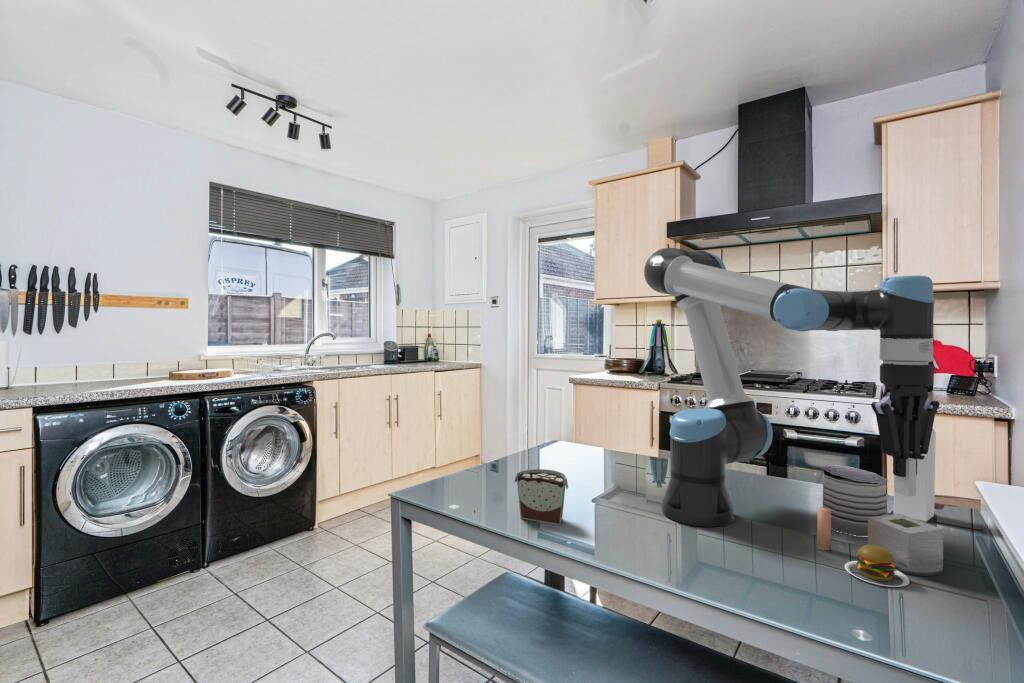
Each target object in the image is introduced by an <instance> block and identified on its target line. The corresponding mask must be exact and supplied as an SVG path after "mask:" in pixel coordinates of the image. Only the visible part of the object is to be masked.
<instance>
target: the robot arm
mask: <svg viewBox="0 0 1024 683" xmlns="http://www.w3.org/2000/svg"><path fill="white" fill-rule="evenodd" d="M643 274H644V275H643V276H644V279H645V282H646V283H647V285H648V286H649V288H651V289H652V290H653V291H655V292H656V293H660V294H666V295H670V296H673V297H674V300H675V304H676V307H677V308H678V309H680V310H681V311H683V312H684V314H685V318H686V322H687V325H688V330H689V333H690V337H691V342H692V346H693V349H694V353H695V356H696V361H697V364H698V367H699V372H700V377H701V380H702V384H703V388H704V391H705V395H706V398H707V403H706V404H705V406H704V407H702V408H700V407H699V408H687V409H683V410H680V411H677V412H675V414H673V415H672V417H671V420H670V429H669V436H670V437H669V447H670V448H669V450H670V451H669V454H670V455H669V458H670V459H669V461H670V462H669V465H670V467H669V468H670V471H669V472H670V473H669V474H670V476H669V477H670V478H669V481H668V484H667V487H666V490H665V492H664V495H663V498H662V502H661V504H662V505H661V507H662V509H661V510H662V511H661V512H662V514H663V515H664V516H665V517H667V518H668V519H670V520H673V521H675V522H678V523H681V524H685V525H689V526H695V527H703V528H704V527H708V528H709V527H710V528H711V527H713V528H714V527H723V526H726V525H729V524H732V522H733V521H734V507H733V504H732V501H731V498H730V495H729V492H728V488H727V485H726V465H729V464H733V463H738V462H746V461H751V460H753V459H756V458H759V457H761V456H762V455H765V453H766V452H767V451H768V450H769V448H770V446H771V444H772V441H773V437H774V434H773V427H772V424H771V421H770V420H769V418H768V417H767V415H764V414H763V413H762V412H761V411H759V410H757V408H756V404H755V401H754V399H753V398H752V397H750V396H749V395H746V393H745V390H744V387H743V383H742V380H741V377H740V373H739V369H738V365H737V362H736V358H735V354H734V352H733V348H732V343H731V340H730V336H729V333H728V329H727V326H726V322H725V319H724V314H723V312H722V308H721V306H723V307H727V308H729V309H733V310H737V311H740V312H743V313H747V314H751V315H754V316H757V317H761V318H763V319H767V320H771V321H774V322H776V323H778V324H779V325H781V326H782V327H783V328H785V329H787V330H793V331H798V332H809V331H827V332H839V331H869V330H871V331H878V330H879V360H880V361H883V363H881V364H880V365H879V382H880V383H881V384H883V385H884V390H883V393H882V398H881V399H880V400H879V401H878V402H877V401H872V402H871V404H870V406H871V409H872V410H873V412H874V414H875V417H876V418H875V419H876V423H877V427H878V428H877V429H878V432H879V440H880V444H881V445H880V446H881V449H882V453H883V454H886V455H887V456H888V457H889V456H890V457H892V473H893V493H894V492H896V493H899V494H902V495H906V496H909V497H911V496H916V475H917V459H921V460H923V459H924V457H925V456H922V454H927V453H928V449H929V444H930V439H931V433H932V428H933V429H934V422H935V416H936V413H937V412H938V409H939V407H940V405H941V404H940V401H938V400H932V399H931V398H930V397H929V395H930V394H929V391H928V389H927V387H930V386H933V384H934V366H932V364H929V363H930V362H933V361H934V318H935V317H934V314H935V313H934V312H935V311H934V310H935V303H936V302H935V298H934V284H933V283H934V282H933V280H932V278H930V277H929V276H926V275H901V276H900V275H899V276H892V277H884V278H883V279H881V280H880V285H879V288H878V289H873V290H872V289H871V290H858V291H857V290H855V291H839V290H837V291H836V290H823V289H814V288H809V287H804V286H799V285H796V284H790V283H785V282H783V281H782V282H781V281H777V280H773V279H768V278H766V277H765V278H764V277H759V276H754V275H751V274H748V273H747V274H746V273H742V272H738V271H733V270H730V269H729V270H728V269H727V268H726V266H725V263H724V262H723V260H722V259H721V258H720V257H719V256H718V255H716V254H714V253H713V252H708V251H706V250H701V249H700V250H699V249H698V250H697V249H695V250H693V249H685V248H684V249H683V248H679V247H678V248H676V247H665V248H660V249H658V250H657V251H654V252H652V254H651V255H649V257H648V259H647V260H646V261H645V265H644V268H643ZM920 446H921V447H920Z"/></svg>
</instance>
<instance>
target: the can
mask: <svg viewBox="0 0 1024 683" xmlns="http://www.w3.org/2000/svg"><path fill="white" fill-rule="evenodd" d="M820 468H821V469H822V508H827V509H830V510H831V530H832V529H833V530H832V531H834V530H835V531H834V532H836V531H838V532H837V533H839V532H842V533H841V534H843V533H847V534H851V535H856V536H868V517H875V516H884V515H887V482H888V481H889V479H887V478H885V477H883V476H881V475H880V474H877V473H875V472H873V471H868V470H864V469H861V468H856V467H852V466H848V465H847V466H846V465H845V466H844V465H835V464H826V465H824V466H821V467H820ZM847 534H846V535H847ZM851 535H850V536H851Z"/></svg>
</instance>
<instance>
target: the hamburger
mask: <svg viewBox="0 0 1024 683" xmlns="http://www.w3.org/2000/svg"><path fill="white" fill-rule="evenodd" d="M893 562H894V558H893V556H892V554H891V553H890V552H889V551H887V550H886V549H884V548H882V547H880V546H876V545H868V544H866V545H863V546H861V547H860V548H859V549H858V551H857V553H856V559H855V560H851V561H847V562H845V564H844V569H845V571H847V573H849V574H851V575H852V576H854V577H855V578H857V579H860V580H861V581H864V582H865V583H869V584H873V585H876V586H880V587H886V588H887V587H888V588H889V587H890V588H899V587H905V586H907V585H909V584H910V580H909V578H908V576H907V575H906V574H905V573H902V572H900V571H898V570H896V569H894V568H895V565H894V563H893ZM853 567H856V568H857V570H858V572H859V573H860V574H861V575H863V576H865V577H866V578H868V579H869V580H870V579H871V580H874V581H879V582H889V581H891V580H892V579H893V578H894V576H895V575H896V576H897V575H898V577H899V578H900V579H901V581H902V583H901V584H899V585H886V584H880V583H876V582H872V581H869V580H865V579H863V578H861V577H860V576H858V575H855V574H854V573H853V572H852V571H851V568H853Z"/></svg>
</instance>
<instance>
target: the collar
mask: <svg viewBox="0 0 1024 683" xmlns="http://www.w3.org/2000/svg"><path fill="white" fill-rule="evenodd" d="M903 526H904V527H903ZM906 527H908V528H906ZM867 545H876V546H880V547H882V548H884V549H886V550H887V551H889V552H890V553H891V554H892V556H893V558H894V562H896V563H898V564H901V565H903V566H905V567H907V568H913V567H920V566H927V565H934V564H942V563H943V564H944V529H943V528H940V527H938V526H935V525H933V524H930V523H927V522H925V521H921V520H917V519H914V518H911V517H908V516H905V515H903V514H894V513H893V514H886V515H884V516H875V517H868V538H867Z"/></svg>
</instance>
